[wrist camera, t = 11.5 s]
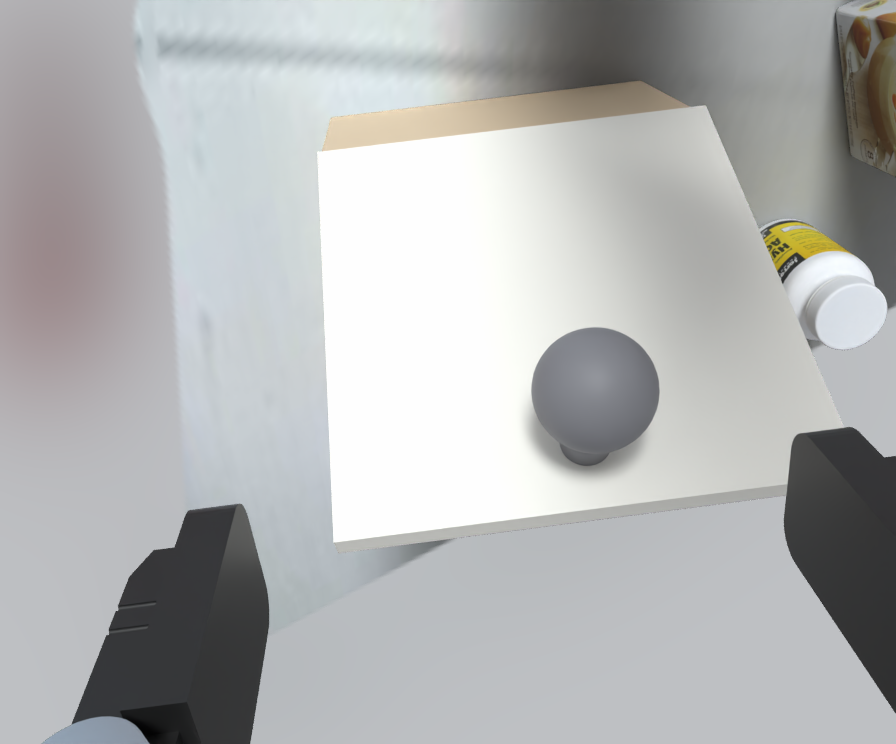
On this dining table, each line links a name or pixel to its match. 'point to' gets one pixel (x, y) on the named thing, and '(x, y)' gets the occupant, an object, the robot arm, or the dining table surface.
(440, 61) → the dining table surface
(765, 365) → the lid
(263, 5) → the dining table surface
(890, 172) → the coffee box
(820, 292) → the supplement bottle
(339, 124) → the carton
